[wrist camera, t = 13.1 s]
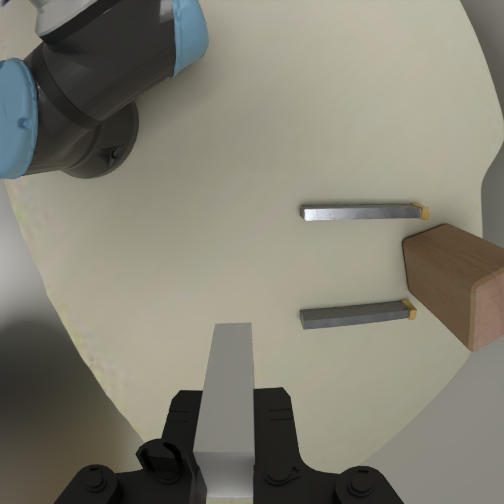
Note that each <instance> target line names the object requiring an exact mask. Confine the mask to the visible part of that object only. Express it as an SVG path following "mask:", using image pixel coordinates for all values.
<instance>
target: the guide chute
mask: <svg viewBox="0 0 504 504" xmlns="http://www.w3.org/2000/svg"><path fill="white" fill-rule="evenodd" d="M300 208H301V217H302V218H303V219H304V220H305V221H309V220H341V219H385V218H419V219H422V220H429V207H426V206H423V205H420V204H417V203H410V204H342V205H301V206H300ZM416 312H417V309H416V308H415V307H414V306H413V305H412V304H411V303H410V302H409V301H408V300H407V299H405V300H401V301H394V302H385V303H376V304H366V305H356V306H346V307H334V308H322V309H309V310H300V320H301V323H302V326H303V329H315V328H327V327H337V326H347V325H356V324H365V323H373V322H381V321H389V320H397V319H404V318H408V319H409V320H413V319H415V317H416Z"/></svg>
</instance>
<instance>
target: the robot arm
mask: <svg viewBox="0 0 504 504" xmlns="http://www.w3.org/2000/svg"><path fill="white" fill-rule="evenodd" d="M29 1H30V2H31V3H32V4H33V5H34V6H35V7H36V8H37V13H38V14H37V21H36V28H35V33H36V34H37V35H38V36H39V37H40V38H41V39H42V40H43V42H42V43H41V44H40V45H39V46H38V47H37V48H36V49H34V50H33V51H32V52H31V53H30V54H29V55H28V56H27V57H26V58H25V59H24V60H23V61H22V60H21V59H18V58H11V59H8V60H3V61H0V179H7V178H8V179H16V178H18V177H20V176H25V175H31V174H37V173H43V172H50V171H57V170H61V171H63V172H64V173H66V174H68V175H70V176H73V177H76V178H82V179H89V178H95V177H100V176H103V175H106V174H108V173H110V172H112V171H113V170H115V169H116V168H117V167H118V166H120V165H121V164H122V163H123V161H124V160H125V159H126V158H127V156H128V155H129V153H130V151H131V150H132V148H133V145H134V143H135V140H136V137H137V132H138V112H137V108H136V105H135V103H134V101H133V100H134V99H136V98H137V97H139V96H140V95H142V94H143V93H145V92H146V91H148V90H149V89H151V88H152V87H154V86H155V85H157V84H159V83H160V82H162V81H163V80H165V79H167V78H168V77H170V78H173V77H175V76H176V75H177V74H178V72H179V71H180V70H182V69H184V68H185V67H187V66H189V65H190V64H192V63H194V62H195V61H197V60H198V59H200V58H201V57H202V56H203V55H204V53H205V51H206V49H207V47H208V41H209V39H208V31H207V26H206V22H205V18H204V15H203V12H202V9H201V7H200V4H199V1H198V0H29ZM136 456H137V458H138V460H139V462H140V464H141V465H142V467H143V469H141V470H137V471H132V472H123V473H114V472H113V471H112V470H111V469H109V468H108V467H107V466H103V465H99V464H98V465H89V466H87V467H84V468H82V469H81V470H80V471H79V472H78V473H77V474H76V475H75V477H74V478H73V479H72V481H71V482H70V483H69V485H68V486H67V487H66V488H65V490H64V491H63V492H62V493H61V495H60V496H59V497H58V499H57V500H56V501H55V503H54V504H206V495H207V493H208V496H209V497H217V498H253V504H404V503H403V502H402V500H401V499H400V497H399V496H398V495H397V493H396V492H395V491H394V489H393V488H392V486H391V485H390V484H389V482H388V481H387V480H386V478H385V477H384V475H383V474H381V473H380V472H379V471H378V470H376V469H374V468H372V467H369V466H356V467H352V468H349V469H347V470H346V471H344V472H342V473H341V474H335V473H326V472H321V471H316V470H314V469H312V468H310V467H309V466H307V465H306V464H305V463H304V462H303V460H302V459H301V456H300V453H299V447H298V441H297V435H296V428H295V422H294V416H293V411H292V404H291V398H290V396H289V395H288V393H287V392H286V391H285V390H284V388H283V387H279V388H262V389H255V382H254V360H253V343H252V325H251V323H228V324H215V327H214V333H213V338H212V344H211V349H210V355H209V360H208V366H207V371H206V377H205V383H204V388H203V391H195V390H180V391H179V392H178V393H177V394H176V396H175V397H174V398H173V399H172V401H171V405H170V408H169V413H168V415H167V419H166V423H165V426H164V430H163V434H162V437H161V439H153V440H151V441H148V442H146V443H144V444H143V445H142V446H140V447H139V449H138V451H137V452H136Z"/></svg>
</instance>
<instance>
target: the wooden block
mask: <svg viewBox="0 0 504 504" xmlns="http://www.w3.org/2000/svg"><path fill="white" fill-rule="evenodd" d="M403 250H404V256H405V263H406V270H407V277H408V285H409V291H410V292H411V294H412V295H414V296H415V297H416V298H417V299H418V300H419V301H420V302H421V303H422V304H423V305H424V306H425V307H426V308H427V309H428V310H429V311H430V312H431V313H433V314H434V315H435V316H436V317H437V318H438V319H439V320H440V321H441V322H442V323H443V324H444V325H445V326H446V327H447V328H448V329H449V330H450V331H451V332H452V333H453V334H454V335H455V336H456V337H457V338H458V339H459V340H460V341H461V342H462V343H463V344H464V345H465V346H466V347H467V348H468V349H469V350H470V351H472V352H473V351H477V350H479V349H480V348H482V347H484V346H485V345H487V344H489V343H490V342H492V341H494V340H495V339H497V338H498V337H500V336H502V335H503V334H504V248H501V247H499V246H497V245H495V244H493V243H491V242H488V241H486V240H484V239H482V238H480V237H477V236H475V235H473V234H470V233H468V232H466V231H463V230H461V229H459V228H456V227H454V226H452V225H449V224H445V225H442V226H439V227H437V228H434V229H431V230H429V231H426V232H423V233H421V234H418V235H415V236H413V237H410V238H407V239H405V240H404V241H403Z"/></svg>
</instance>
